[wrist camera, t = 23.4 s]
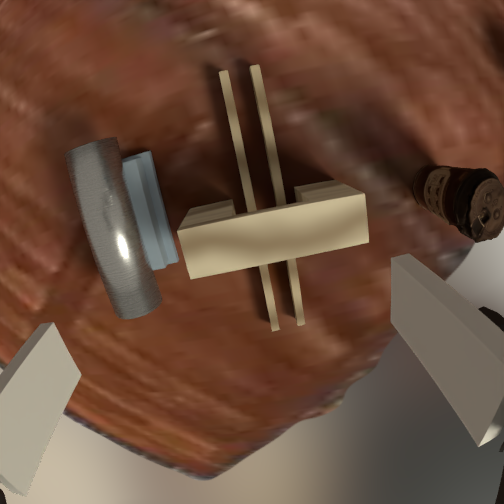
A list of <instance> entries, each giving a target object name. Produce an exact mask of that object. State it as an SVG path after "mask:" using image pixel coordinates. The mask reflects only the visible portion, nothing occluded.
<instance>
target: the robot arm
mask: <svg viewBox="0 0 504 504" xmlns="http://www.w3.org/2000/svg"><path fill="white" fill-rule="evenodd" d="M391 323H392V324H393V325H394V327H395V328H396V329H397V331H398V332H399V333H400V335H401V336H402V337H403V339H404V340H405V341H406V343H407V344H408V345H409V347H410V348H411V349H412V351H413V352H414V354H415V355H416V356H417V358H418V359H419V360H420V362H421V363H422V364H423V366H424V367H425V369H426V370H427V371H428V373H429V374H430V376H431V377H432V378H433V380H434V381H435V382H436V384H437V385H438V387H439V388H440V390H441V391H442V393H443V394H444V396H445V397H446V398H447V400H448V401H449V403H450V404H451V406H452V407H453V409H454V410H455V412H456V413H457V415H458V416H459V418H460V419H461V421H462V422H463V424H464V425H465V427H466V428H467V430H468V432H469V433H470V435H471V436H472V438H473V439H474V441H475V442H476V444H477V446H478V447H479V446H481V445H483V444H485V443H486V442H488V441H490V440H491V439H493V438H495V437H496V436H498V435H499V434H500V432H501V431H502V428H503V427H504V318H503V317H502V316H501V315H500V314H499V313H497V312H495V311H493V310H490V309H488V308H486V307H481V308H479V309H477V308H476V307H475V306H474V305H472V304H471V303H470V302H469V301H468V300H466V299H465V298H464V297H463V296H462V295H461V294H459V293H458V292H457V291H456V290H455V289H453V288H452V287H451V286H450V285H449V284H447V283H446V282H445V281H444V280H442V279H441V278H440V277H439V276H437V275H436V274H435V273H434V272H432V271H431V270H430V269H428V268H427V267H426V266H425V265H423V264H422V263H421V262H419V261H418V260H417V259H416V258H414V257H413V256H412V255H410V254H405V255H401V256H397V257H393V258H391ZM80 377H81V373H80V371H79V370H78V368H77V366H76V364H75V363H74V361H73V359H72V357H71V355H70V354H69V352H68V350H67V348H66V346H65V344H64V342H63V340H62V338H61V336H60V334H59V332H58V330H57V328H56V326H55V324H54V322H52V323H45V324H40V325H39V327H38V328H37V329H36V330H35V331H34V333H33V334H32V335H31V336H30V338H29V339H28V340H27V341H26V342H25V344H24V345H23V346H22V347H21V349H20V350H19V351H18V353H17V354H16V355H15V356H14V358H13V359H12V360H11V362H10V363H9V364H8V365H7V367H6V368H5V369H4V371H3V372H2V373H1V375H0V482H1V483H2V484H3V485H4V486H5V487H6V488H8V489H9V490H10V491H11V492H13V493H16V494H19V495H22V496H27V493H28V491H29V488H30V486H31V483H32V481H33V478H34V476H35V473H36V471H37V468H38V466H39V463H40V461H41V459H42V457H43V454H44V452H45V450H46V447H47V445H48V443H49V441H50V438H51V436H52V434H53V432H54V430H55V428H56V425H57V423H58V421H59V419H60V417H61V415H62V413H63V411H64V409H65V407H66V405H67V403H68V400H69V398H70V396H71V394H72V392H73V391H74V389H75V387H76V385H77V383H78V381H79V379H80ZM503 450H504V442H503V444H502V446H501V448H500V451H499V452H503ZM0 504H7V503H6V499H5V495H4V493H3V491H2V490H1V489H0ZM495 504H504V467H503V472H502V477H501V482H500V486H499V491H498V495H497V499H496V503H495Z"/></svg>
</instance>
